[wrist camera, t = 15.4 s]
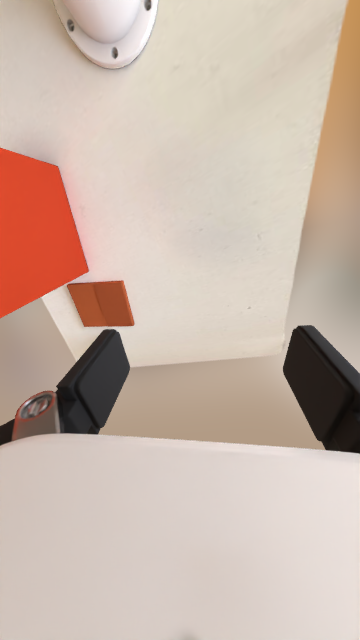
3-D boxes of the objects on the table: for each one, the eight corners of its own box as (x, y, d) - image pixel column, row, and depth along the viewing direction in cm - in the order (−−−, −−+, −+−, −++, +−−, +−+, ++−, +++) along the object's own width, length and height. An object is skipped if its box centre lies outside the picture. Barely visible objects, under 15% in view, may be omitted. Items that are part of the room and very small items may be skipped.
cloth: (68, 283, 41) (65, 285, 40) (123, 280, 39) (121, 282, 38) (86, 325, 46) (83, 327, 45) (134, 323, 44) (133, 326, 43)
